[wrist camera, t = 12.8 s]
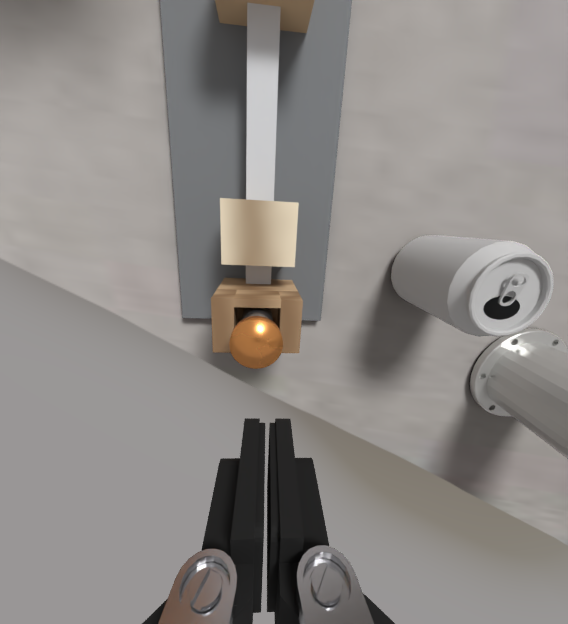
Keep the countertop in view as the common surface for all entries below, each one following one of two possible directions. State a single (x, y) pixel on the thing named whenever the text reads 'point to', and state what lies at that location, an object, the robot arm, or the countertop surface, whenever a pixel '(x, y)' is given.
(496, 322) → the can
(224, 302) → the end block
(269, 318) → the plunger
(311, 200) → the rail base
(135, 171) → the countertop surface
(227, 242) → the carriage
